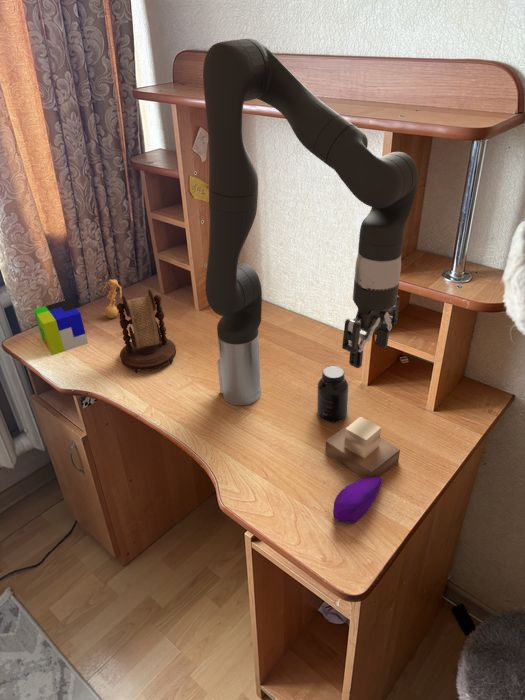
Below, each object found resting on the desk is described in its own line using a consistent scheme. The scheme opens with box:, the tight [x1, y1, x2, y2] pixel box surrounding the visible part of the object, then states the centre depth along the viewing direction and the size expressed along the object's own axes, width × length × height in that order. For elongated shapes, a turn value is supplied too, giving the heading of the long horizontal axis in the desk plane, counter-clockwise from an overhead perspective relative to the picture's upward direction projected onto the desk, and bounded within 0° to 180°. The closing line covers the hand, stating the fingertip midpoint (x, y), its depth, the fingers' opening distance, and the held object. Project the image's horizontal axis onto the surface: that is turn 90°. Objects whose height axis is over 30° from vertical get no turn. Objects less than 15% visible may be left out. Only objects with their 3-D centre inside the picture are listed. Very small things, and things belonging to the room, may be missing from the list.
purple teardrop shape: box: [332, 476, 383, 524], centre depth 101 cm, size 5×5×15 cm
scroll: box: [116, 288, 177, 374], centre depth 140 cm, size 15×15×20 cm
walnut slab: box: [324, 421, 401, 479], centre depth 111 cm, size 12×9×4 cm
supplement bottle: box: [316, 365, 349, 423], centre depth 121 cm, size 7×7×12 cm
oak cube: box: [344, 416, 382, 459], centre depth 109 cm, size 5×5×5 cm
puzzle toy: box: [33, 298, 89, 356], centre depth 152 cm, size 10×10×10 cm
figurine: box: [102, 279, 123, 319], centre depth 162 cm, size 8×6×12 cm
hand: (368, 355), depth 101 cm, fingers open, 8 cm apart
